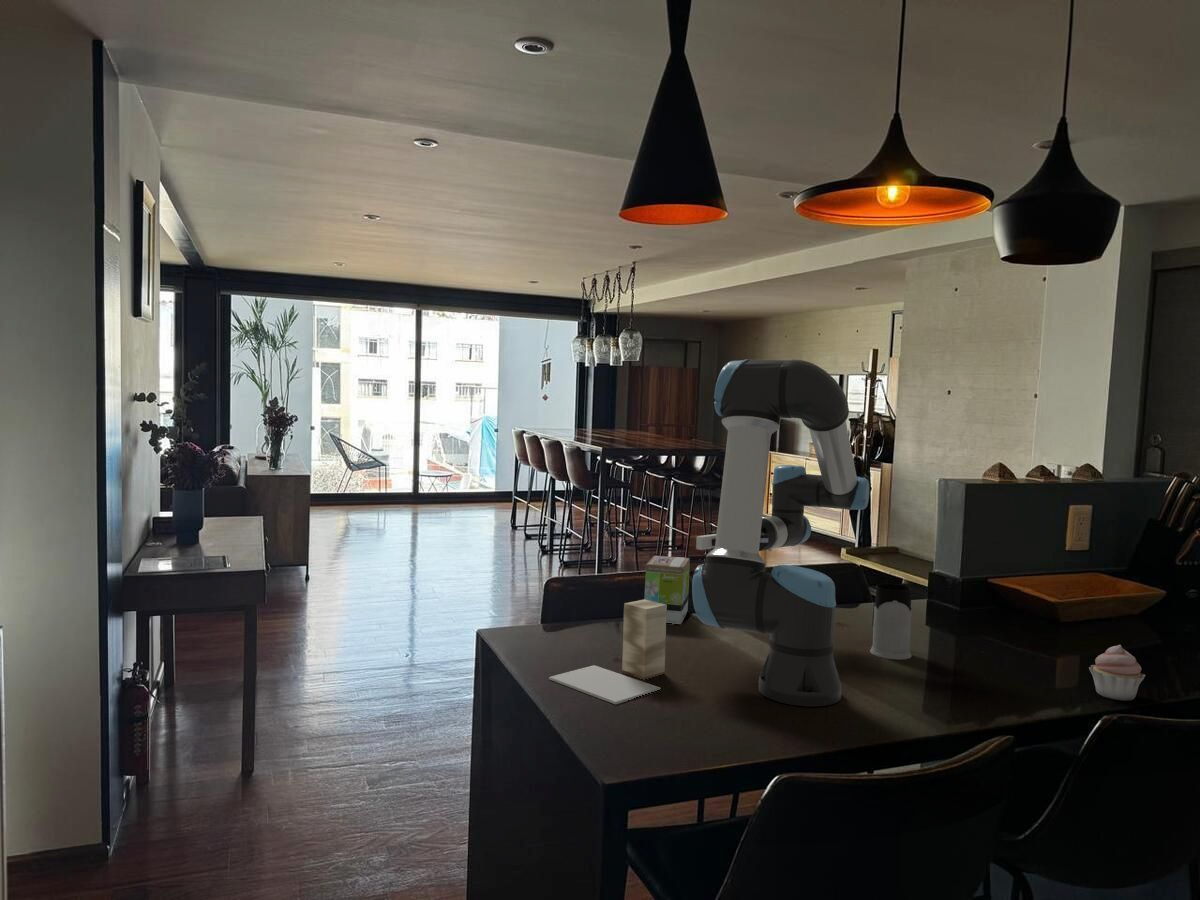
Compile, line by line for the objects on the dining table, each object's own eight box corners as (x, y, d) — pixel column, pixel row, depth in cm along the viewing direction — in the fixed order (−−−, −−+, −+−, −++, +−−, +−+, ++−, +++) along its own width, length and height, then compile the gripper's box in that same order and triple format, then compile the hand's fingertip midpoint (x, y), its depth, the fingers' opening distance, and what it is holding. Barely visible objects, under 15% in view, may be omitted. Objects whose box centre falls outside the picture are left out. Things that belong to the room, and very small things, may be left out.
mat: (660, 690, 157) (660, 687, 157) (615, 704, 149) (615, 701, 149) (593, 667, 170) (594, 665, 170) (549, 679, 161) (549, 676, 161)
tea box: (682, 626, 206) (684, 566, 205) (642, 622, 208) (644, 563, 207) (688, 612, 221) (690, 556, 220) (650, 609, 223) (652, 554, 222)
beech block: (664, 674, 167) (666, 604, 166) (644, 680, 163) (646, 609, 162) (642, 667, 171) (644, 599, 171) (621, 672, 167) (623, 603, 166)
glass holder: (871, 657, 183) (874, 589, 182) (866, 640, 197) (869, 577, 196) (914, 661, 181) (917, 592, 180) (906, 644, 195) (909, 580, 194)
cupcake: (1132, 707, 155) (1135, 654, 155) (1079, 693, 163) (1081, 642, 162) (1153, 698, 161) (1156, 647, 160) (1100, 685, 168) (1103, 635, 168)
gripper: (787, 554, 189) (723, 565, 173) (739, 546, 199) (675, 556, 182) (788, 521, 189) (724, 529, 173) (740, 514, 198) (676, 522, 182)
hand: (699, 543), depth 177 cm, fingers closed
